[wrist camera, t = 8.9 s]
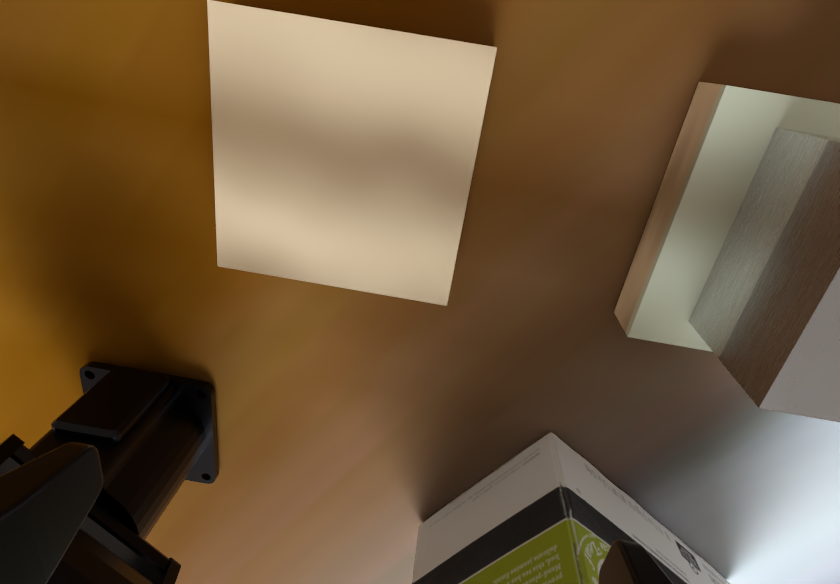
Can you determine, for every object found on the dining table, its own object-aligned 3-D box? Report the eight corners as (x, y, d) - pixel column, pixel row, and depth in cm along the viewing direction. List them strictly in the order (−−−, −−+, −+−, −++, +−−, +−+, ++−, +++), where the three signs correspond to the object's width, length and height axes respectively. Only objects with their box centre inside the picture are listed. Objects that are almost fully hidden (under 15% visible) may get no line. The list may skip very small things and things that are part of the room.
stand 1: (448, 284, 21) (447, 305, 19) (239, 247, 21) (217, 266, 19) (494, 47, 17) (497, 47, 15) (234, 5, 17) (206, -1, 15)
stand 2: (828, 349, 21) (862, 377, 19) (613, 312, 21) (627, 337, 19) (965, 125, 17) (1025, 134, 15) (699, 81, 17) (726, 85, 15)
